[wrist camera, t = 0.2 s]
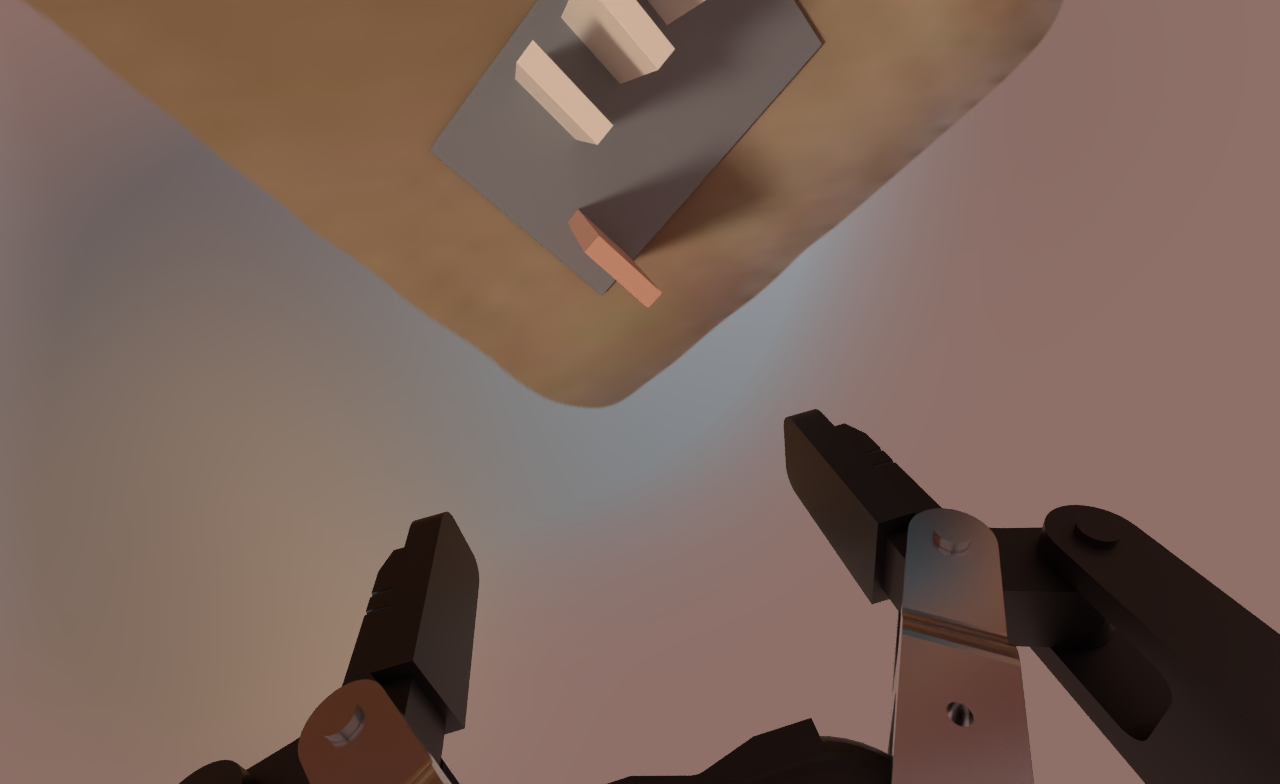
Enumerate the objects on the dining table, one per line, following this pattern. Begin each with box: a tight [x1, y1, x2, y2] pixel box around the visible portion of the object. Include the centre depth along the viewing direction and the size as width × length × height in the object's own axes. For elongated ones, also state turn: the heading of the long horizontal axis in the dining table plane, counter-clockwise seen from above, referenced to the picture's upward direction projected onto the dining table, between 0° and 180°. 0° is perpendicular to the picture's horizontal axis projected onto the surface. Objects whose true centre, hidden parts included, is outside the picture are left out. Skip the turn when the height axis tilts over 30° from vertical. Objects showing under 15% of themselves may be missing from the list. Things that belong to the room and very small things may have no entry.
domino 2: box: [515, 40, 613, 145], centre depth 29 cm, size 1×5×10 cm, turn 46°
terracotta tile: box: [567, 210, 662, 308], centre depth 33 cm, size 1×5×10 cm, turn 46°
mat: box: [429, 0, 822, 295], centre depth 34 cm, size 23×15×1 cm, turn 137°
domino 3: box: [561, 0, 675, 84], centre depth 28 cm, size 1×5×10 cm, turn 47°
